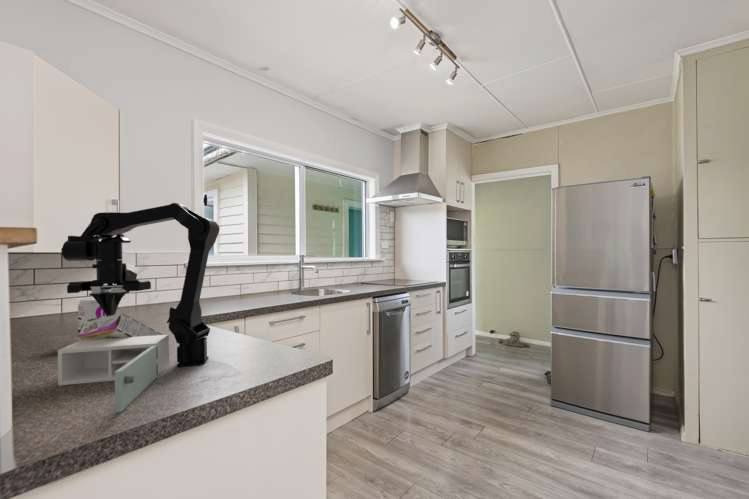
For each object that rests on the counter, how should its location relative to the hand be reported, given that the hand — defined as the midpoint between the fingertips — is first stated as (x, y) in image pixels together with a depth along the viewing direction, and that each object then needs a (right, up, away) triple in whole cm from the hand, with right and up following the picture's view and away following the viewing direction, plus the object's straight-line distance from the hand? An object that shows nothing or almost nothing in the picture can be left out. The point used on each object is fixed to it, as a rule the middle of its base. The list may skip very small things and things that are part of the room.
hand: (110, 318), depth 97 cm
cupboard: (+7, -12, -8) cm, 16 cm away
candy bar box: (+4, -10, +8) cm, 13 cm away
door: (+22, -12, -20) cm, 32 cm away
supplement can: (-23, -13, +25) cm, 37 cm away
